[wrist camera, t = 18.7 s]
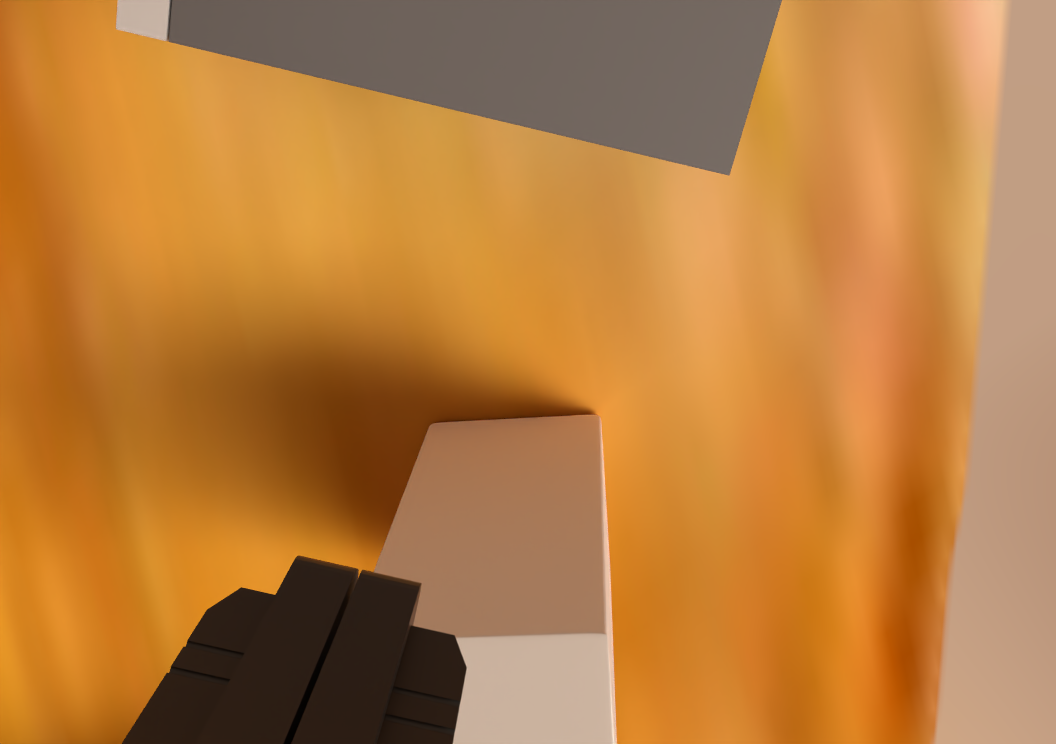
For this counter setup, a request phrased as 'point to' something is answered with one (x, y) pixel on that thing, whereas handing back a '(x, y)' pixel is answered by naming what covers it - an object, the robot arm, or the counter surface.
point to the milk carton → (515, 573)
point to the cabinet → (523, 61)
